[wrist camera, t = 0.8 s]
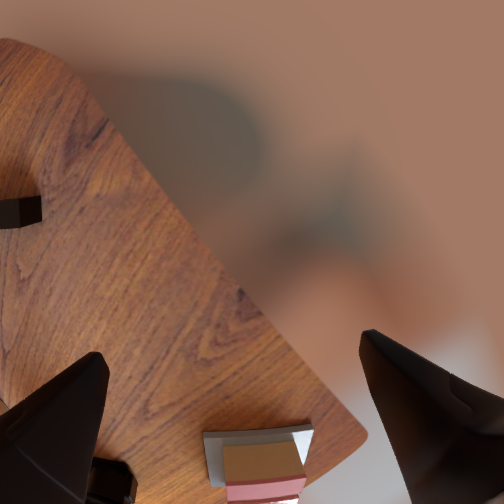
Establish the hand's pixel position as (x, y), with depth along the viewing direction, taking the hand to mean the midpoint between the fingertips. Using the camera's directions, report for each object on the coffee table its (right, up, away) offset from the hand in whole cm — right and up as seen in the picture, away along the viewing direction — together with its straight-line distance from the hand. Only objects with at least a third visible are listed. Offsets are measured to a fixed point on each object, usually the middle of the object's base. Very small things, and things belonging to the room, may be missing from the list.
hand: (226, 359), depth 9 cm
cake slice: (+2, -19, +18) cm, 27 cm away
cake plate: (+1, -22, +19) cm, 29 cm away
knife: (-28, +7, +9) cm, 30 cm away
